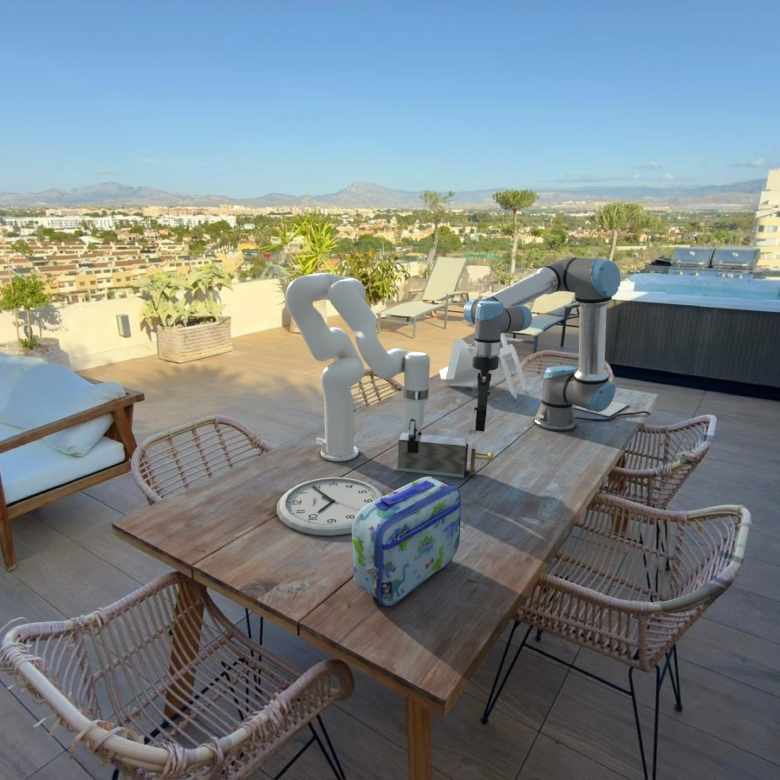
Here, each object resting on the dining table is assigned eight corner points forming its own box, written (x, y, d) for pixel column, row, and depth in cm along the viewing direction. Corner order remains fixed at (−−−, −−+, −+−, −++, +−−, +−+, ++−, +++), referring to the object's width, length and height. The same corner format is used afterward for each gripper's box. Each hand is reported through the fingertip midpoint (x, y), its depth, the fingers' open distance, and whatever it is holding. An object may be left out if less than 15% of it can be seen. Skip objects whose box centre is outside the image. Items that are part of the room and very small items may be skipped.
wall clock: (392, 527, 129) (268, 531, 127) (391, 533, 130) (269, 537, 127) (383, 473, 158) (282, 475, 155) (383, 478, 158) (282, 480, 156)
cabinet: (465, 469, 166) (467, 438, 162) (463, 477, 160) (466, 446, 157) (401, 462, 169) (402, 432, 166) (397, 470, 164) (398, 439, 161)
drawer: (491, 470, 163) (494, 444, 161) (491, 477, 159) (493, 450, 156) (412, 462, 168) (413, 436, 165) (410, 468, 163) (411, 442, 161)
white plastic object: (461, 429, 252) (437, 405, 227) (444, 352, 274) (420, 323, 250) (535, 404, 240) (518, 377, 215) (510, 326, 262) (492, 293, 237)
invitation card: (608, 416, 214) (573, 407, 224) (608, 416, 214) (573, 408, 224) (628, 404, 229) (594, 396, 238) (628, 405, 229) (594, 397, 238)
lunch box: (381, 619, 101) (382, 525, 95) (345, 592, 109) (344, 503, 102) (464, 563, 119) (469, 480, 113) (428, 543, 126) (432, 464, 120)
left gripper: (408, 384, 167) (407, 436, 172) (398, 401, 151) (397, 458, 156) (432, 386, 166) (429, 438, 171) (424, 403, 150) (422, 460, 155)
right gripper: (475, 345, 165) (470, 408, 171) (470, 364, 142) (465, 436, 148) (499, 346, 164) (494, 410, 170) (498, 366, 140) (492, 439, 147)
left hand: (414, 447), depth 164 cm, fingers closed on cabinet, 5 cm apart
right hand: (480, 422), depth 159 cm, fingers open, 13 cm apart
